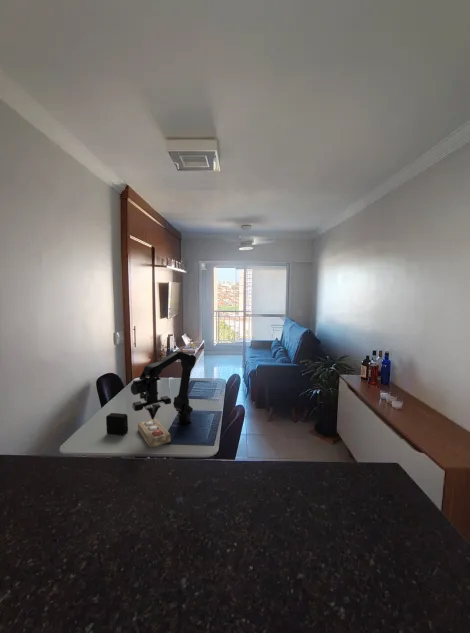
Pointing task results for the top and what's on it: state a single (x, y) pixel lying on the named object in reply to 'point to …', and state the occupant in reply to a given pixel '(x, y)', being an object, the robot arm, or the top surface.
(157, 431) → the red plug
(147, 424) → the plug
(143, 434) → the beech block
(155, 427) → the plug
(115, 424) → the electronic device
